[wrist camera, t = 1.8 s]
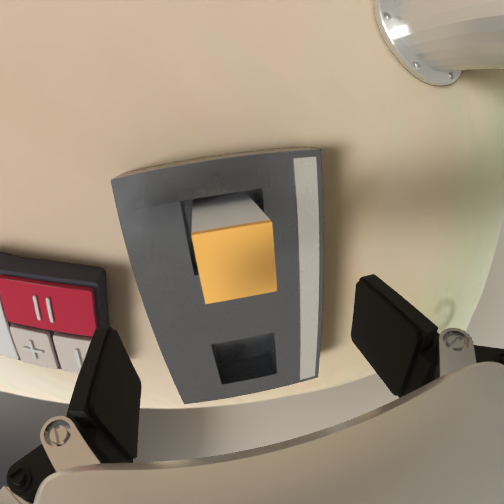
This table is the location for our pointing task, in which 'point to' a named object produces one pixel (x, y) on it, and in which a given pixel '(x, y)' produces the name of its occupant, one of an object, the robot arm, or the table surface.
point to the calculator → (50, 310)
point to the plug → (233, 247)
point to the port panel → (236, 310)
